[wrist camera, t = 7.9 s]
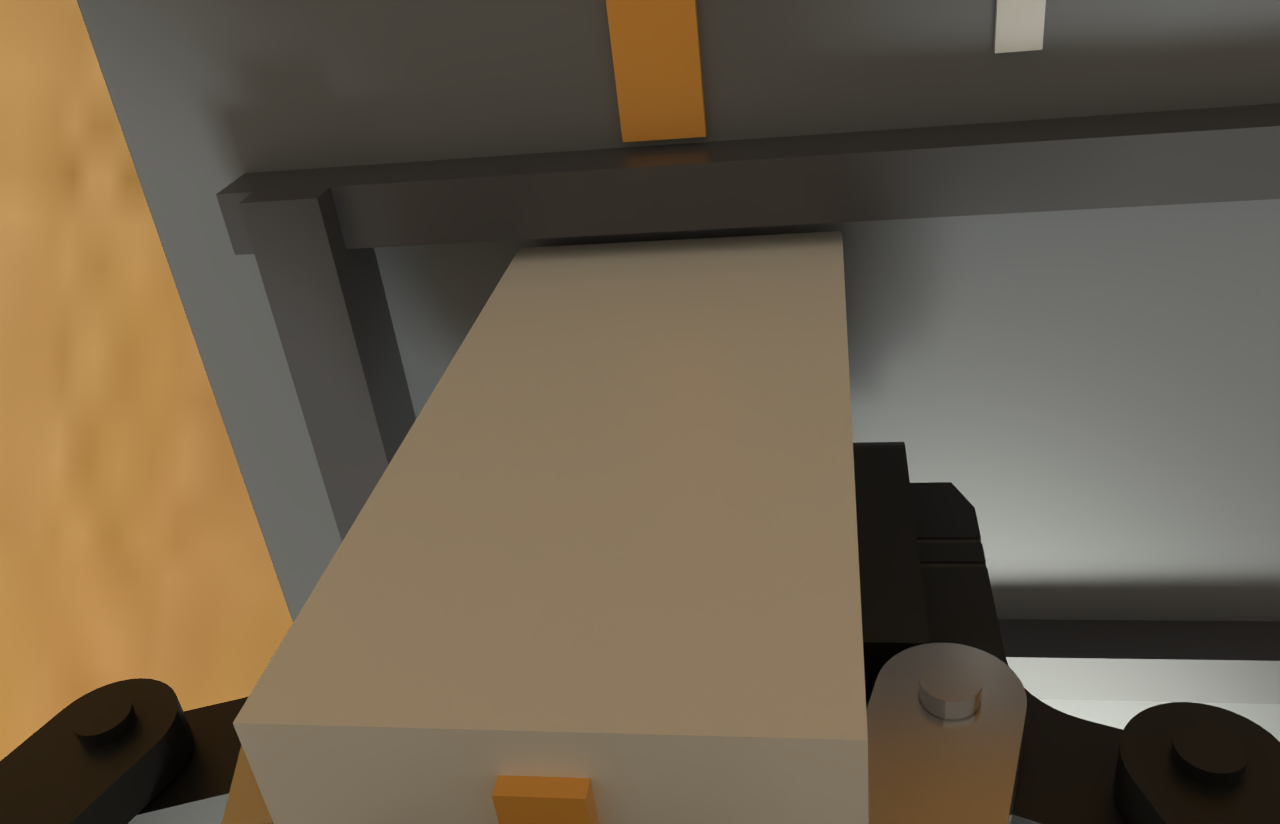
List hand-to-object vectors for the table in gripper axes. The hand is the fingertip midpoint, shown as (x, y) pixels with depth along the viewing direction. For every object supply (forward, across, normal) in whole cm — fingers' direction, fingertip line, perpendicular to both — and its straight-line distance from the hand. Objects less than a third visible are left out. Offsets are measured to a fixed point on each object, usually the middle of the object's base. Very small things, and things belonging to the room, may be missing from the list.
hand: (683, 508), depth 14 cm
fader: (+1, 0, 0) cm, 1 cm away
